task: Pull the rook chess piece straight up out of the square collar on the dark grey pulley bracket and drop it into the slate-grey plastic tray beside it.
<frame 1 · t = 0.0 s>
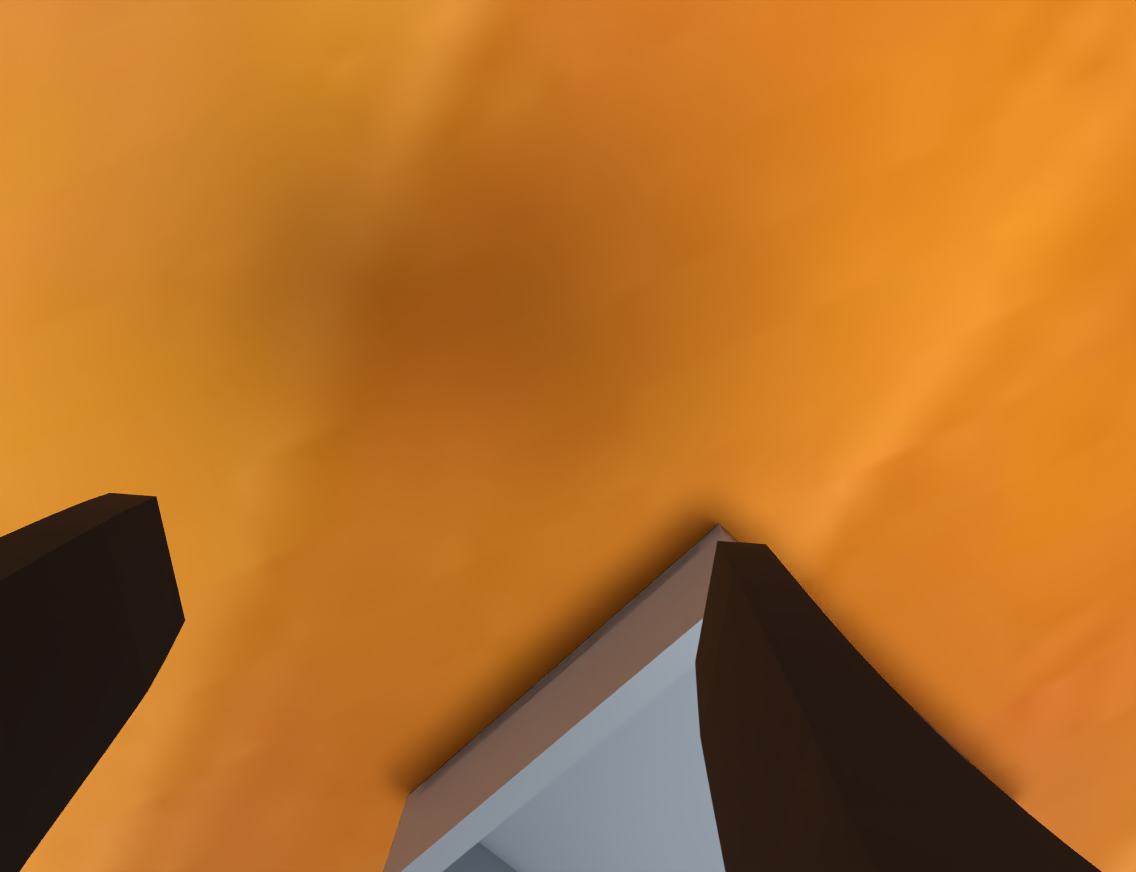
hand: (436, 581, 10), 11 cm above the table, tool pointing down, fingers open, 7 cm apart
tray: (706, 800, 23), on the table
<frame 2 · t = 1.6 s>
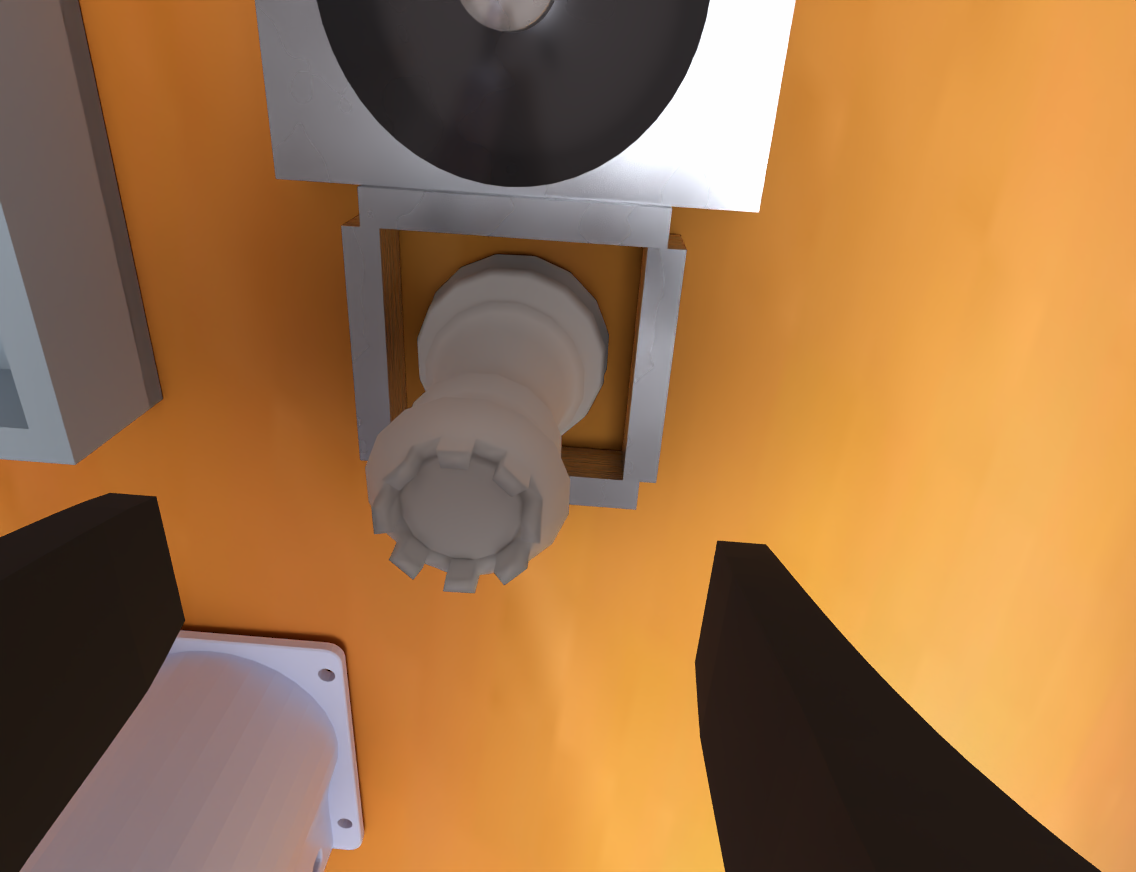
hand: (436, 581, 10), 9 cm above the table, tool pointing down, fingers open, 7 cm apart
pulley bracket: (517, 341, 18), on the table
rook chess piece: (518, 337, 18), resting in pulley bracket
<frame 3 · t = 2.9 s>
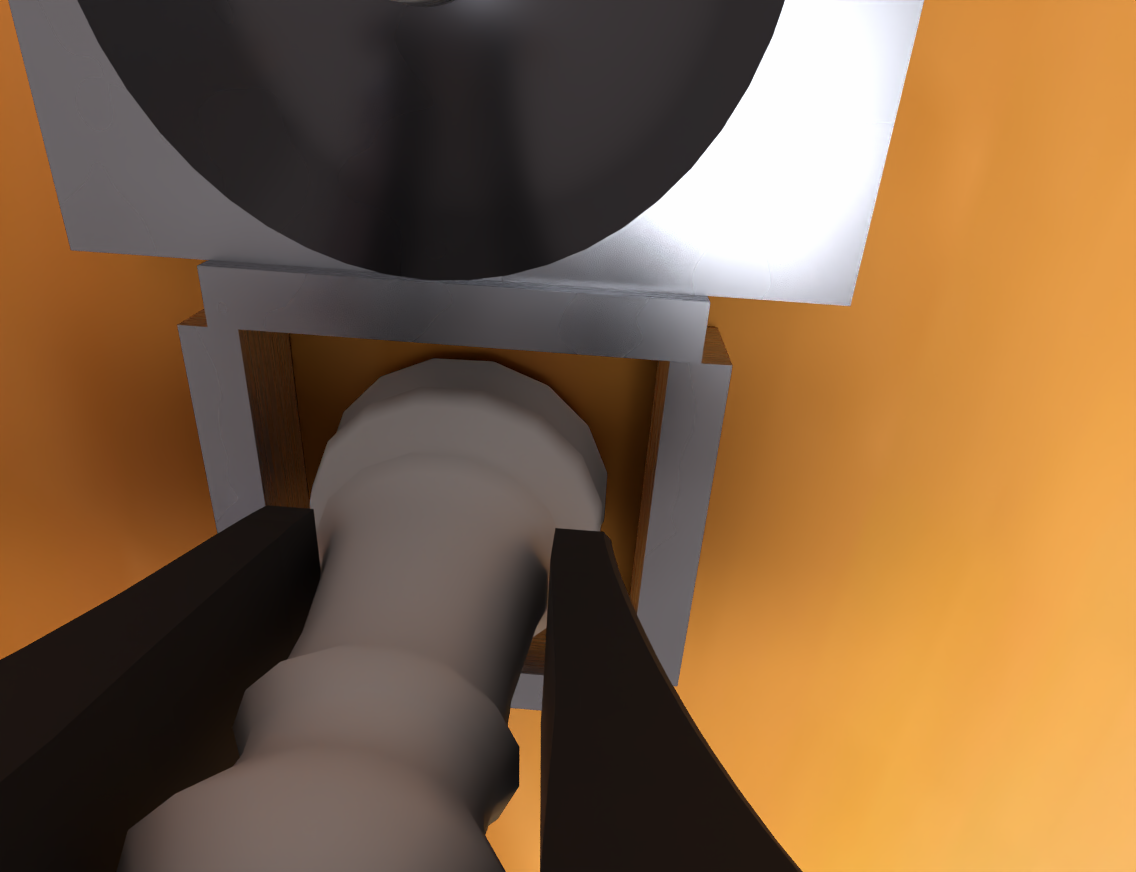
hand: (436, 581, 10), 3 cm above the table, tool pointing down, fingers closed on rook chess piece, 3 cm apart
pulley bracket: (472, 474, 12), on the table
rook chess piece: (474, 467, 12), resting in pulley bracket, touching gripper
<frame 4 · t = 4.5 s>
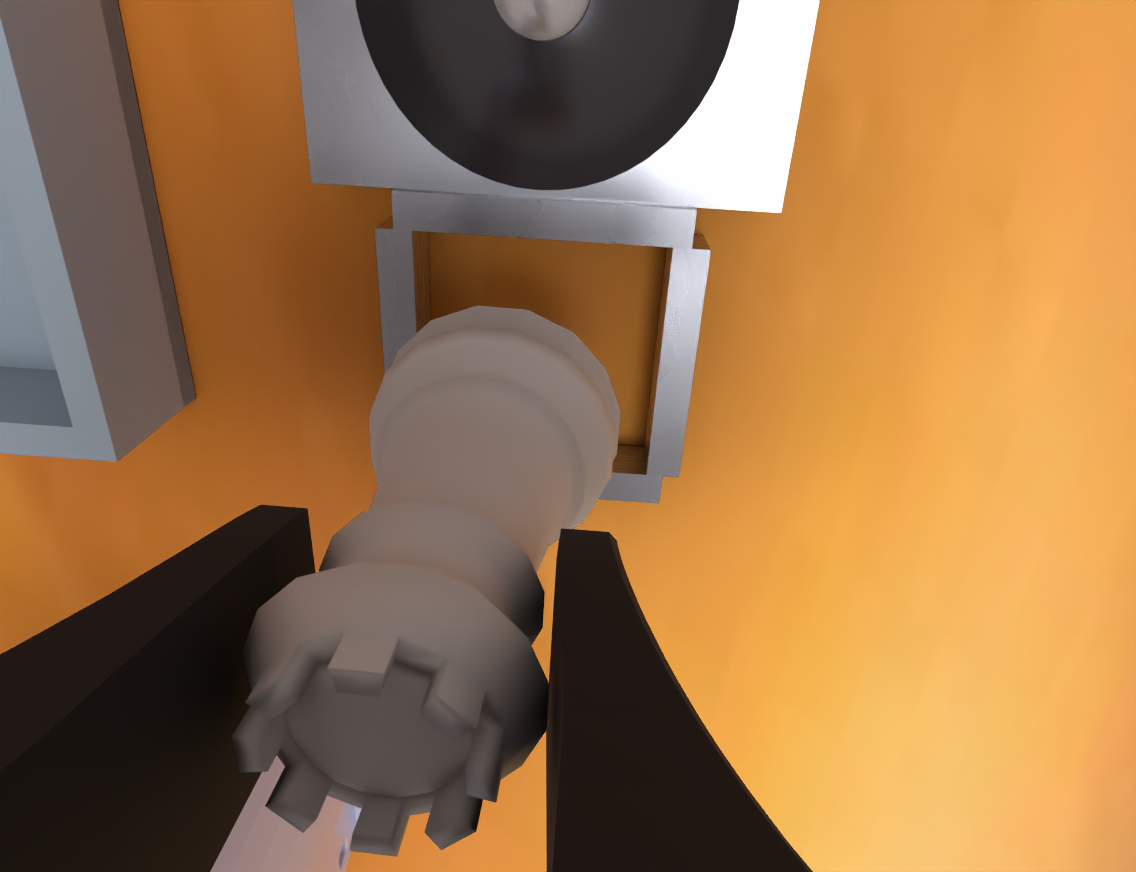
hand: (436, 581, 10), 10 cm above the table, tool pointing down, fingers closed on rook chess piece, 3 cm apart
pulley bracket: (543, 339, 18), on the table
rook chess piece: (506, 407, 14), point 5 cm above the table, touching gripper
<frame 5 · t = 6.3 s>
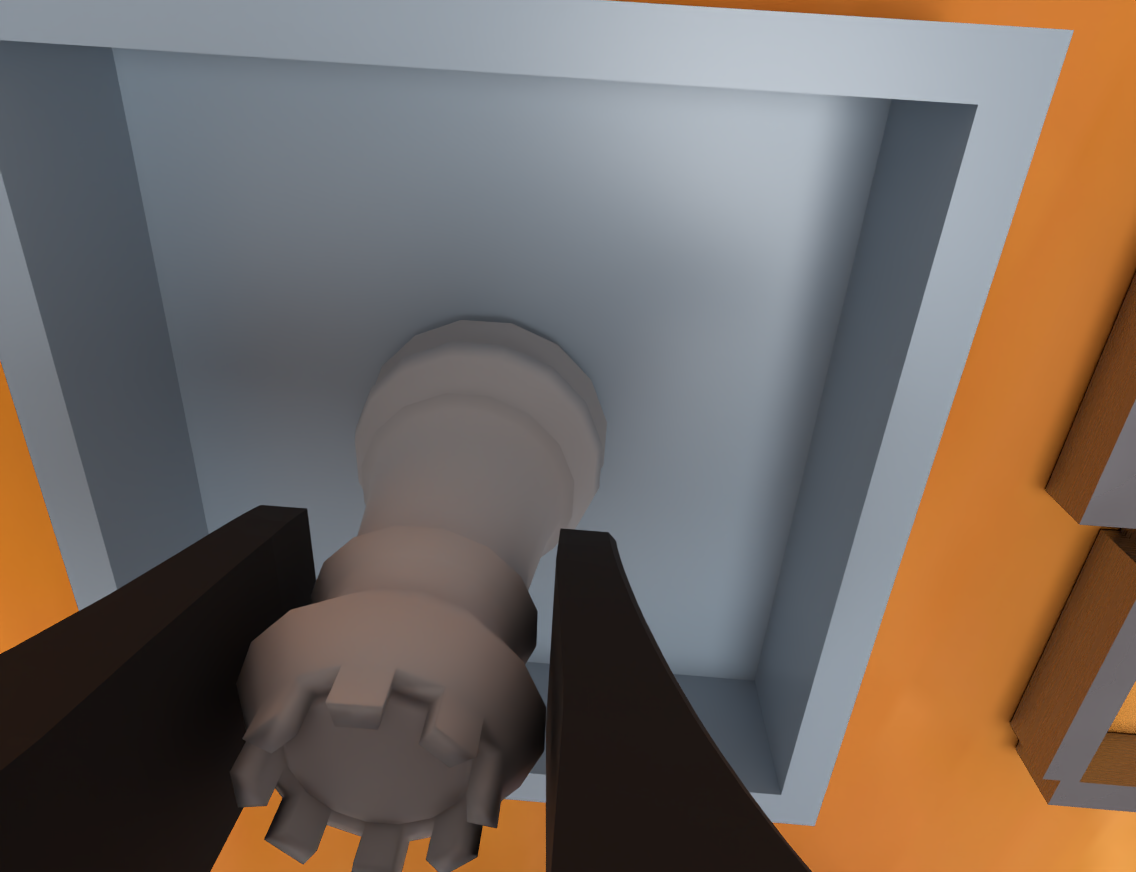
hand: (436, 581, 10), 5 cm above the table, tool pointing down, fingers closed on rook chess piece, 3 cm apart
tray: (497, 408, 14), on the table
rook chess piece: (491, 419, 14), resting on tray, touching gripper
when the fingers open (5 cm above the table, at t = 6.6 s): rook chess piece stays where it is, resting on tray.
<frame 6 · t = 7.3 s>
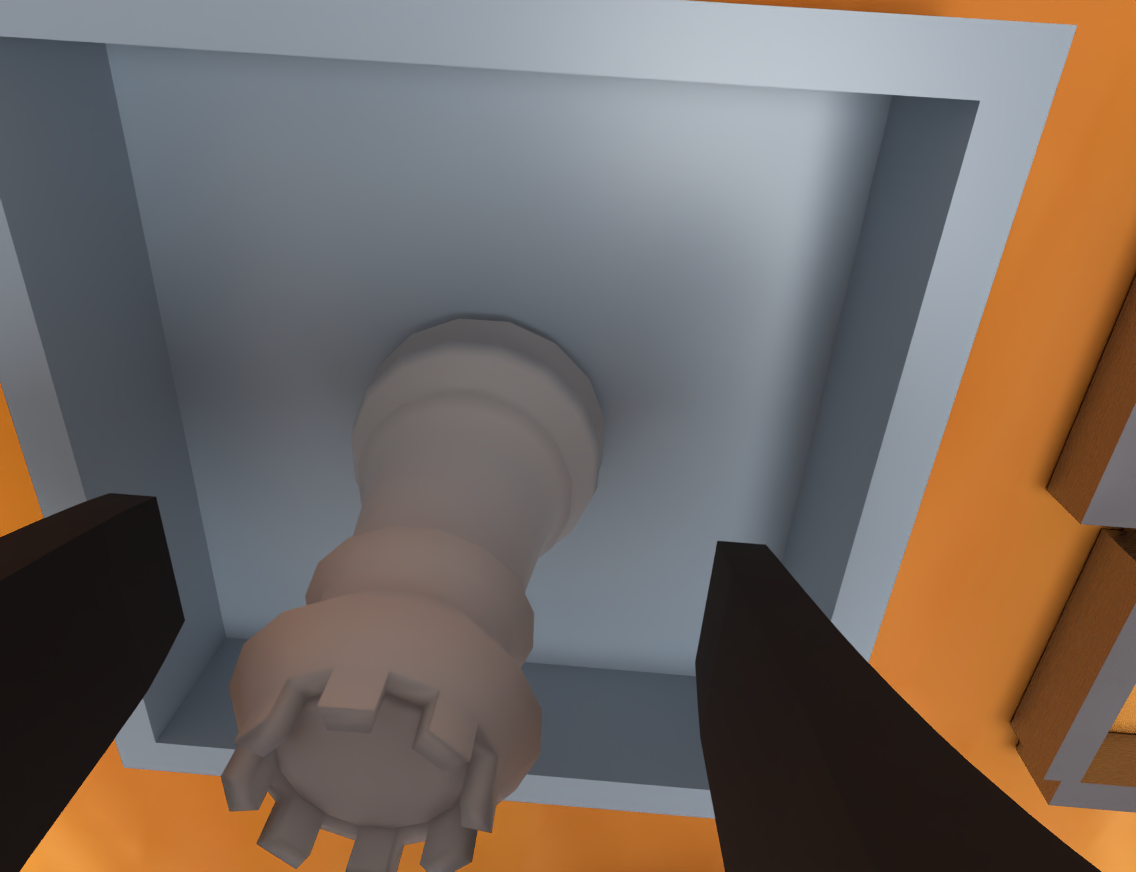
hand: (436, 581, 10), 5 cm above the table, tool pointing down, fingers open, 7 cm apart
tray: (495, 407, 14), on the table
rook chess piece: (489, 418, 14), resting on tray
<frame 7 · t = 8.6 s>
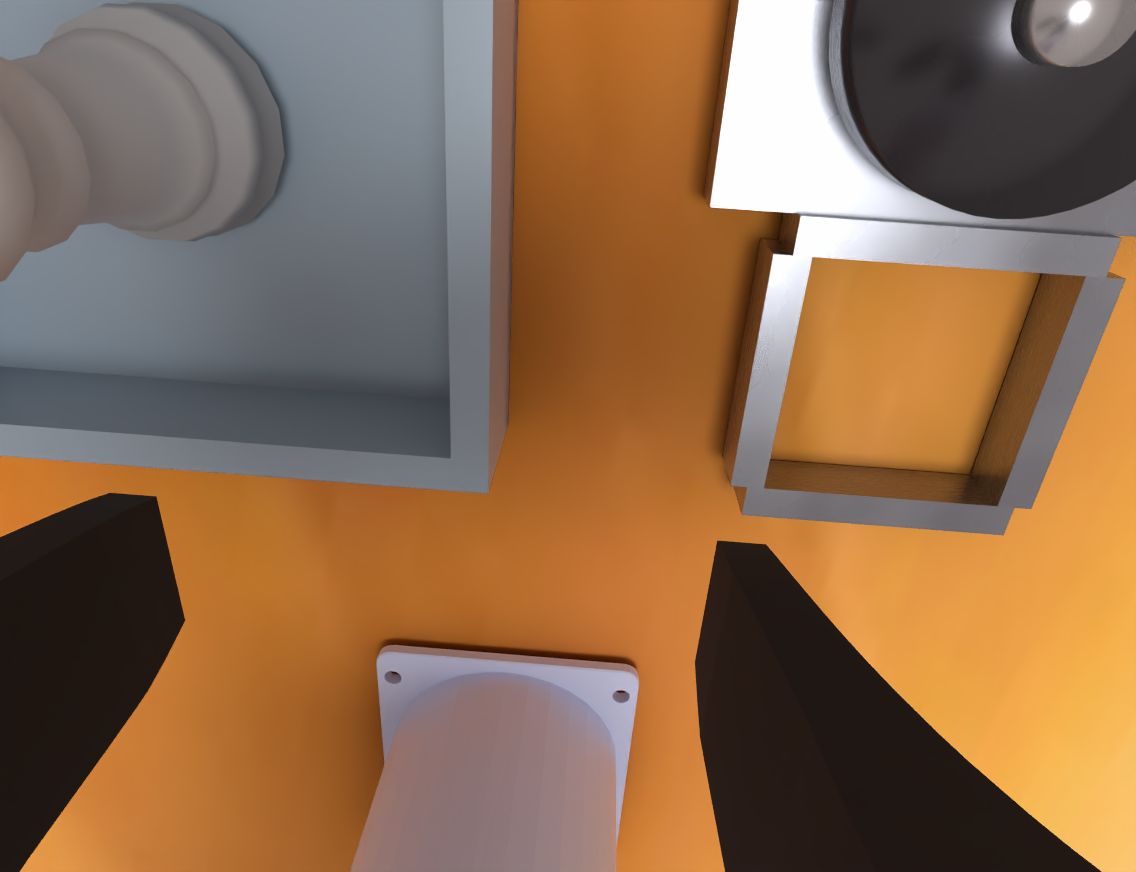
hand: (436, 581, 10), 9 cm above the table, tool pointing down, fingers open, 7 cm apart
tray: (204, 120, 16), on the table
pulley bracket: (889, 366, 18), on the table
rook chess piece: (193, 124, 16), resting on tray
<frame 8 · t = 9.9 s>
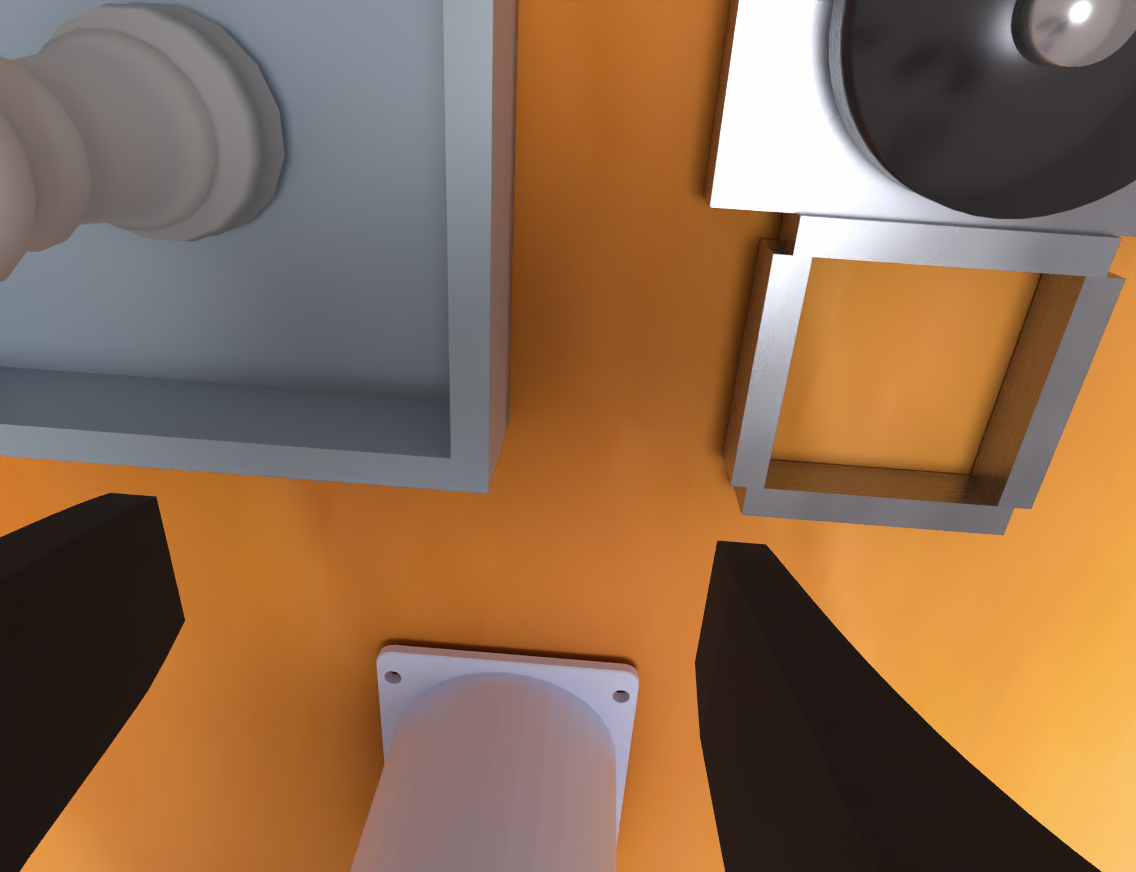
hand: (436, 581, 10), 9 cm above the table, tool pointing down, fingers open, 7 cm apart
tray: (204, 120, 16), on the table
pulley bracket: (889, 366, 18), on the table
rook chess piece: (193, 124, 16), resting on tray
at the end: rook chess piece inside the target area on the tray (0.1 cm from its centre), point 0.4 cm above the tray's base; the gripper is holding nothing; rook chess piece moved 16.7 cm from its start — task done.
